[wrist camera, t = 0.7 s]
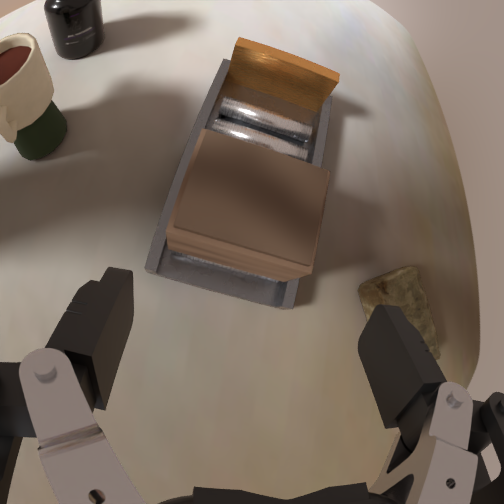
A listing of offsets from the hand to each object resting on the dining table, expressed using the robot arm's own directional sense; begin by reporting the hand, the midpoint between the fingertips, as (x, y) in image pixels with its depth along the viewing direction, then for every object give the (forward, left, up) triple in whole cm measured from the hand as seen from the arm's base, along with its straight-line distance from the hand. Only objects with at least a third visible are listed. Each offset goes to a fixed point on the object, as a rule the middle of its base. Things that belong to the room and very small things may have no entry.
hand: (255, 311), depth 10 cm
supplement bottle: (-36, +10, -20) cm, 42 cm away
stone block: (+15, +12, -20) cm, 28 cm away
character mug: (-26, -1, -20) cm, 32 cm away
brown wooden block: (-4, +7, -16) cm, 18 cm away
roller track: (-7, +12, -19) cm, 24 cm away
